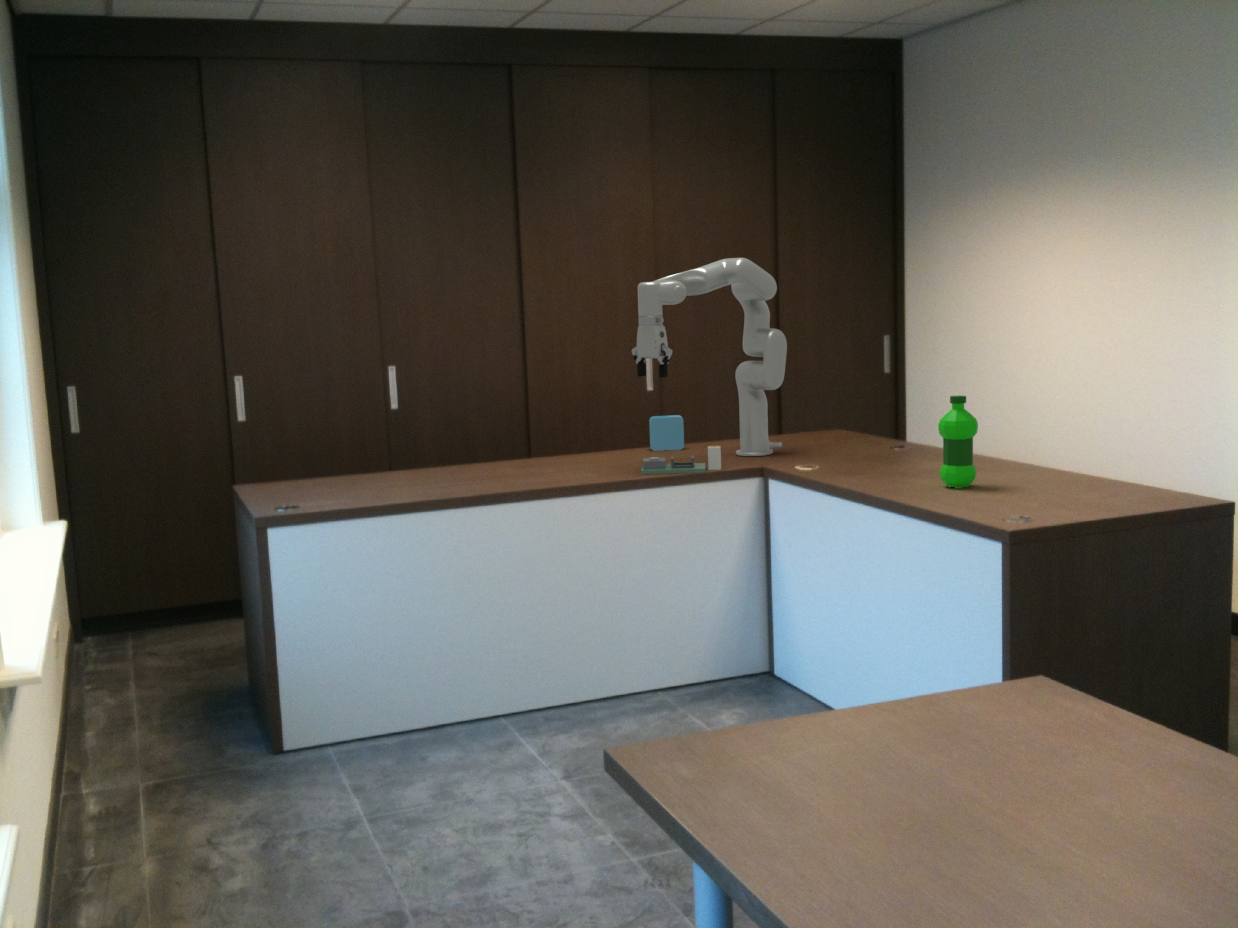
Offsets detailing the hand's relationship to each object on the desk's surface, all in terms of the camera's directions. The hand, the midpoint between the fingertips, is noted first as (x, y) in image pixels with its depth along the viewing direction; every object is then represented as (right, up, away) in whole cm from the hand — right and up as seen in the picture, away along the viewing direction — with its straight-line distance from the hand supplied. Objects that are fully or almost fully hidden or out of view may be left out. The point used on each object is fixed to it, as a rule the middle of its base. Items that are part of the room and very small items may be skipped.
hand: (652, 376), depth 383 cm
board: (+7, -30, +2) cm, 30 cm away
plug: (+20, -29, +2) cm, 35 cm away
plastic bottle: (+83, -34, -47) cm, 101 cm away
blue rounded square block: (+7, -23, +51) cm, 56 cm away
